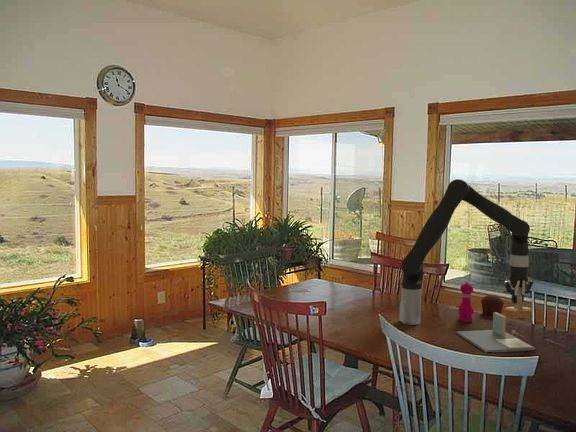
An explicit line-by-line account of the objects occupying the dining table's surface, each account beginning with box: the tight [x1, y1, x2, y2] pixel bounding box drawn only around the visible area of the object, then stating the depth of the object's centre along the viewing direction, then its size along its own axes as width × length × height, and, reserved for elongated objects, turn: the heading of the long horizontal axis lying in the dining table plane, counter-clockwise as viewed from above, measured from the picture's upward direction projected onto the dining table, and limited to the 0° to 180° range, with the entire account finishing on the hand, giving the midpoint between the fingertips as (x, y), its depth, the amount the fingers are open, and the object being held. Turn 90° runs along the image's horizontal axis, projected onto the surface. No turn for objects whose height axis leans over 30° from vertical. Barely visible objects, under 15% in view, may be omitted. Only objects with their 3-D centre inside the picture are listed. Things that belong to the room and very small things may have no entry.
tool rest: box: [495, 337, 533, 348], centre depth 201 cm, size 10×10×1 cm
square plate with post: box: [504, 287, 533, 312], centre depth 213 cm, size 8×7×11 cm
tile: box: [492, 312, 507, 337], centre depth 212 cm, size 2×7×9 cm, turn 9°
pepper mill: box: [457, 280, 475, 323], centre depth 236 cm, size 7×7×20 cm
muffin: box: [480, 294, 505, 318], centre depth 247 cm, size 12×11×10 cm
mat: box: [456, 329, 536, 354], centre depth 206 cm, size 22×24×1 cm
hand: (517, 302), depth 213 cm, fingers closed on square plate with post, 2 cm apart
